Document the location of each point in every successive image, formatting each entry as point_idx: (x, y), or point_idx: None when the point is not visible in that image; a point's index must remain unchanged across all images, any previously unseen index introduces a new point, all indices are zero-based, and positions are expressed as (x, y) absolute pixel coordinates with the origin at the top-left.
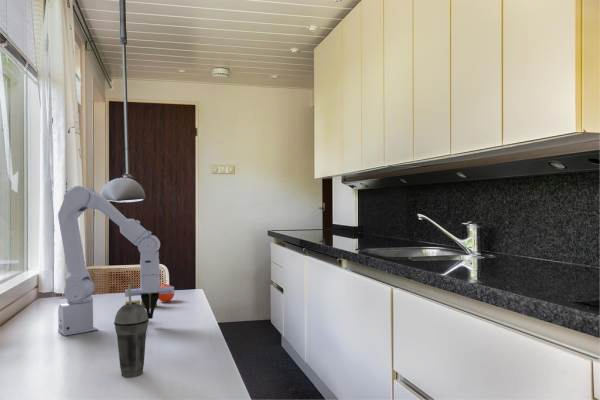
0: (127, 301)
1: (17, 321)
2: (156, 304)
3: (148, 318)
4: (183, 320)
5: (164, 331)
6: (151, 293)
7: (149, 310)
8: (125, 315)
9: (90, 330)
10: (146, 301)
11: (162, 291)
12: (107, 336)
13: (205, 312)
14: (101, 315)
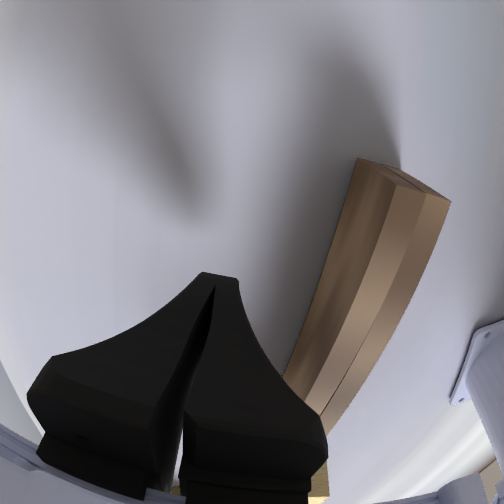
0: (315, 501)
1: (489, 458)
2: (172, 493)
3: (234, 278)
4: (46, 297)
5: (155, 71)
6: (141, 500)
7: (215, 311)
8: None
9: (501, 323)
10: (243, 389)
11: (2, 455)
12: (498, 180)
13: (3, 358)
14: (347, 481)
